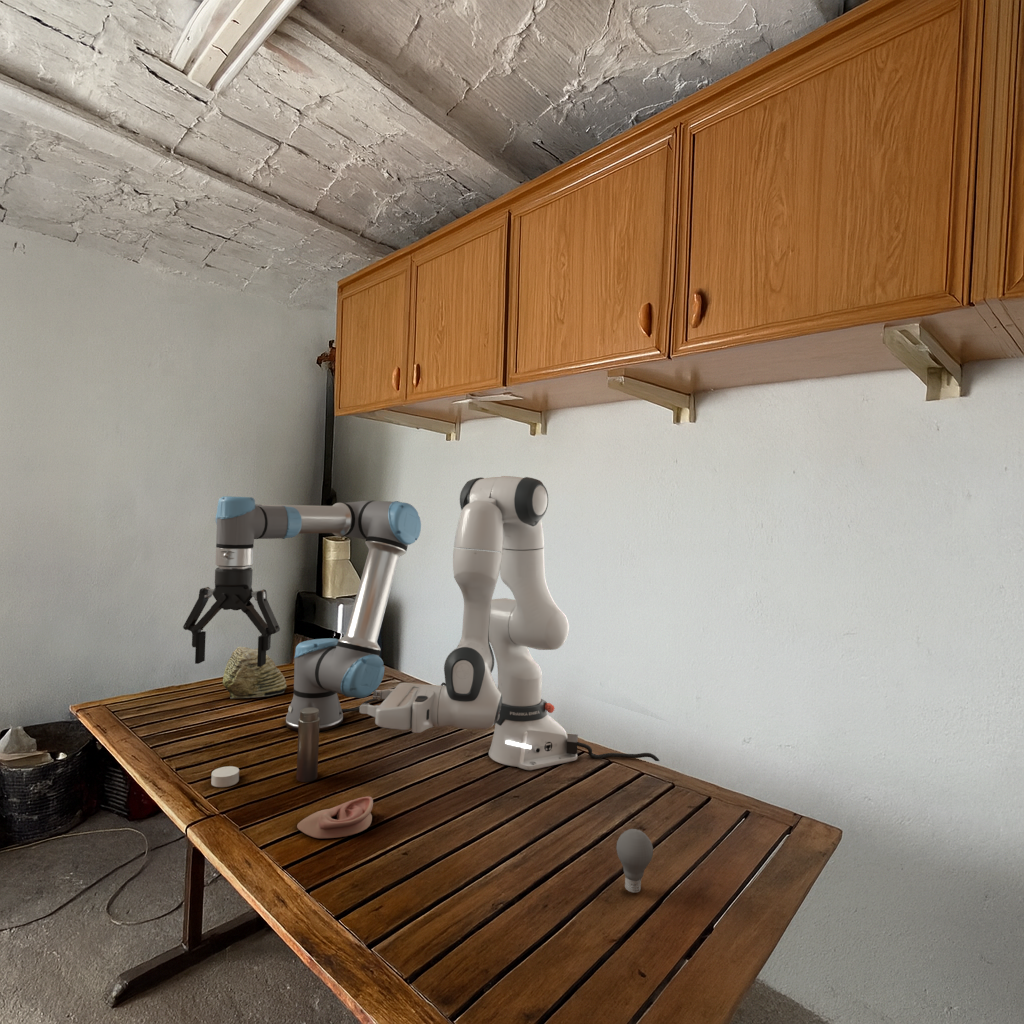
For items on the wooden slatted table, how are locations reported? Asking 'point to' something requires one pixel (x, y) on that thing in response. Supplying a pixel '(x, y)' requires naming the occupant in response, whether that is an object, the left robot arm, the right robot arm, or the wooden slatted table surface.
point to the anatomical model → (339, 819)
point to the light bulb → (634, 857)
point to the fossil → (252, 675)
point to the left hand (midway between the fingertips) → (230, 663)
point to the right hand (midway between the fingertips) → (367, 701)
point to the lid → (225, 776)
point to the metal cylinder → (308, 745)
